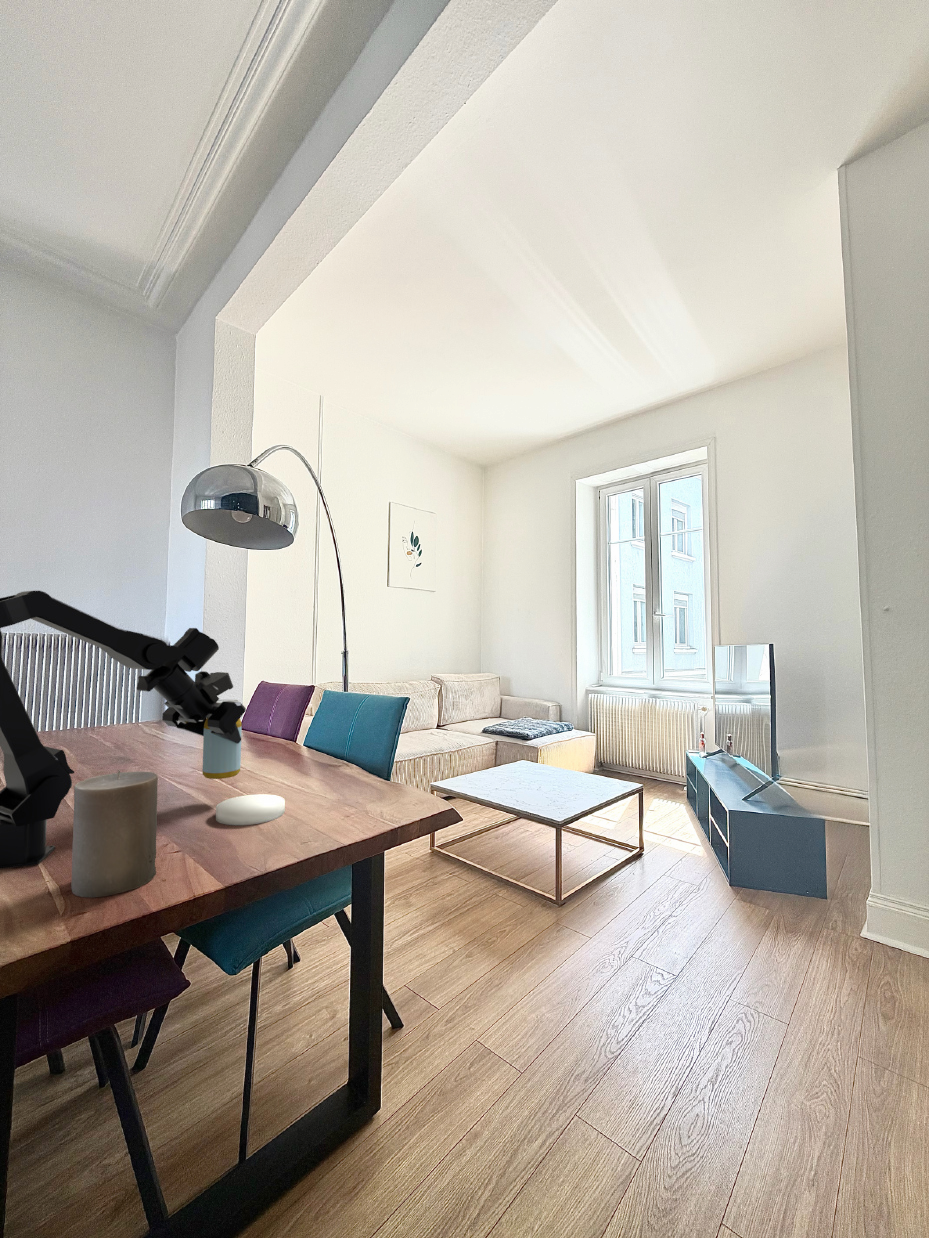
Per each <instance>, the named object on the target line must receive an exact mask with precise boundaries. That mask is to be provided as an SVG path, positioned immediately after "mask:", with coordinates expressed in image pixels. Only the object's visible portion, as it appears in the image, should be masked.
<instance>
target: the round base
mask: <svg viewBox="0 0 929 1238" xmlns="http://www.w3.org/2000/svg"><path fill="white" fill-rule="evenodd" d="M285 801H286V800H285V798H284V797H283V796H280V795H275V794H267V793H264V794H263V793H261V794H246V795H240V796H236V797H231V798H228V799H225V800H223V801H221V802H219V803H218V804H217V805H216V807H215V820H216V822H218V823H219V824H222V825H227V826H250V825H256V824H257V825H259V824H263V823H266V822H267V823H268V822H271V821H275V820H276V819H279V818H280V817H281V816H283V815H284V814H285V810H286V809H285V803H286V802H285Z"/></svg>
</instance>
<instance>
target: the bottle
mask: <svg viewBox="0 0 929 1238" xmlns="http://www.w3.org/2000/svg"><path fill="white" fill-rule="evenodd" d="M223 701H234V702H241V700H240V699H219V700H218V701H217V702H216V703H214V704H213V706H216V707H219V706H220V704H221V703H222V702H223ZM208 719H209V718H207V719H206V721H205V724H204V736H203V741H202V743H203V746H202V775H203V777H205V779H210V780H221V779H222V780H223V779H229V778H234V777H235V776H238V774H239V773H240V772H241V765H242V764H241V759H242V757H241V756H242V740H241V741H240V742H239V743H235V742H232V741H229V740H227V739H224V738H222V737H220V736H217V735H214V734H212V733H211V731H212V730H211V729H210V728H209V727H208ZM236 725H237V728H238V731H239V733H240V736H241V737H242V727H243V726H242V720H241V718H240V719H239V720H238V721H237V722H236Z"/></svg>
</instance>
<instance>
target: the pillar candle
mask: <svg viewBox="0 0 929 1238" xmlns="http://www.w3.org/2000/svg"><path fill="white" fill-rule="evenodd" d="M158 778H159V777H158V774H157V773H155V772H152V771H139V770H138V771H123V772H121V769H118V770H117V772H114V773H109V774H103V775H102V774H101V775H97V776H93V777H89V778H87V779H84V780H80V781H78V782H77V783H76V784H74V785H73V790H74V792H73V793H74V794H73V800H74V801H73V827H72V828H73V829H72V832H73V833H72V851H71V853H72V855H71V856H72V857H71V860H72V861H71V884H70V885H71V886H70V887H71V892H72V894H73V895H75V896H77V897H82V898H87V899H88V898H100V897H107V896H113V895H115V894H119V893H121V894H122V893H124V892H127V891H132V890H134V889H138V888H139V887H142V886H143V885H146V884H147V883H149V882H150V881H152V880H153V879H154V878H155V877H156V875H157V867H156V858H157V828H158V827H157V825H158V824H157V823H158Z"/></svg>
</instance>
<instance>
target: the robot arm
mask: <svg viewBox="0 0 929 1238" xmlns="http://www.w3.org/2000/svg"><path fill="white" fill-rule="evenodd" d="M28 620H32V621H35V622H38V623H40V624H43V625H45V626H47V627H49V628H52V629H54V630H57V631H59V632H61V633H64V634H66V635H68V636H71V637H73V638H76V639H78V640H80V641H83V642H85V643H87V644H90V645H92V646H95V647H97V648H99V649H101V650H102V651H103V652H105V653H106V654H107V655H108V656H109V657H110V658H112V660H115V661H116V662H118V663H119V664H121V665H122V666H124V667H126V668H129V669H133V670H144V671H145V670H148V673H147V674H146V675H139V676H138V677H137V679H138V681H137V686H136V690H137V691H138V692H139V691H140V692H151V691H152V690H153V689H155V691H156V692H157V694H159V695H160V696H161V697H162V698H163V699H164V700H165V702H164V703H163V704H164V705H165V706H166V707H167V708H166V709H165V710H164V712H163V713H162V717H161V720H162V721H163V722H164V723H165V725H167V726H168V727H174V728H177V729H179V730H183V731H186V732H189V733H191V734H192V733H193V734H195V735H199V736H201V737H204V724H205V721H206V719H207V718H209V719H208V727H209V728H210V729H211V730H212V731H211V733H212V734H214V735H217V736H220V737H222V738H224V739H227V740H229V741H232V742H235V743H239V742H240V741H241V742H242V735H241V736H240V733H239V731H238V728H237V725H236V722H237V721H238V720H239V719H240V720H241V718H242V717H243V715H244V714H245V713H246V706H244V704H243V703H241V701H240V702H234V701H223V702H222V703H221V704H220V706H219V707H216V706H213V704H214V703H216V702H217V701H218V700H220V698H219V695H221V694H223V693H225V692H226V691H228V690H232V689H233V688H234V684H233V682H232V679H231V676H230V673H229V672H222V671H217V672H216V671H215V672H210V673H209V672H207V671H202V670H201V669H202V668H203V667H204V666H206V664H207V662H209V660H210V659H211V658H212V657H213V656H214V655H215V654H216V653H217V652H218V651H219V649H220V647H219V644H218V642H217V641H216V640H215V639H214V638H211V637H210V636H209V635H207V634H206V633H203V632H202V631H200V630H199V629H198V628H197V627H189V628H188V629H187V630H186V631H185V632H184V634H183V635H182V637H180V638H179V639H178V640H177V641H176V642H175V643H173V645H168V644H167V643H166V642H165V640H163V639H162V638H159V637H156V636H152V635H148V634H145V633H141V632H135V631H131V630H127V629H123V628H119V627H117V626H115V625H114V624H111V623H109V622H106V621H104V620H102V619H100V618H98V617H95V616H93V615H92V614H89V613H87V612H85V611H83V610H80V609H78V608H76V607H74V606H71V604H68V603H66V602H63V601H61V600H59V599H56V598H55V597H53V596H51V595H49V593H47V592H45V591H42V590H26V591H25V590H24V591H20V592H17V593H15V594H13V595H9V596H8V595H7V596H2V597H0V749H1V750H2V753H3V776H4V780H5V787H3V788H2V789H1V790H0V869H1V870H2V869H8V868H9V869H10V868H17V867H18V868H19V867H27V866H35V865H39V864H40V863H41V862H42V861H43V860H44V859H45V858H46V857H48V856H49V855H50V854H51V853H52V852H53V851H54V850H55V849H56V845H47V829H48V827H47V826H48V820H50V819H54V818H55V816H56V814H57V813H58V810H59V807H60V805H61V803H62V801H63V800H64V798H65V797H66V796H67V795H68V793H69V792H70V789H71V788H72V786H73V780H72V776H71V775H73V774H75V771H74V770H73V769H72V768H71V767H70V765H69V764H68V761H67V756H66V753H65V751H64V750H63V749H59V748H55V747H50V746H45V745H44V744H42V741H41V739H40V737H39V736H38V733H37V731H36V729H35V726H34V725H33V722H32V720H31V718H30V716H29V714H28V712H27V709H26V708H25V705H24V703H23V701H22V699H21V697H20V694H19V692H18V690H17V688H16V686H15V683H14V681H13V680H12V677H11V675H10V673H9V671H8V668H7V666H6V664H5V662H4V659H3V635H2V634H3V633H2V631H1V630H2V628H6V627H10V626H14V625H16V624H19V623H22V622H25V621H28ZM192 671H193V672H197V673H195V675H194V679H193V678H192V677H191V676H190V675H189V674H188V673H190V672H192ZM187 672H188V673H187Z"/></svg>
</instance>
